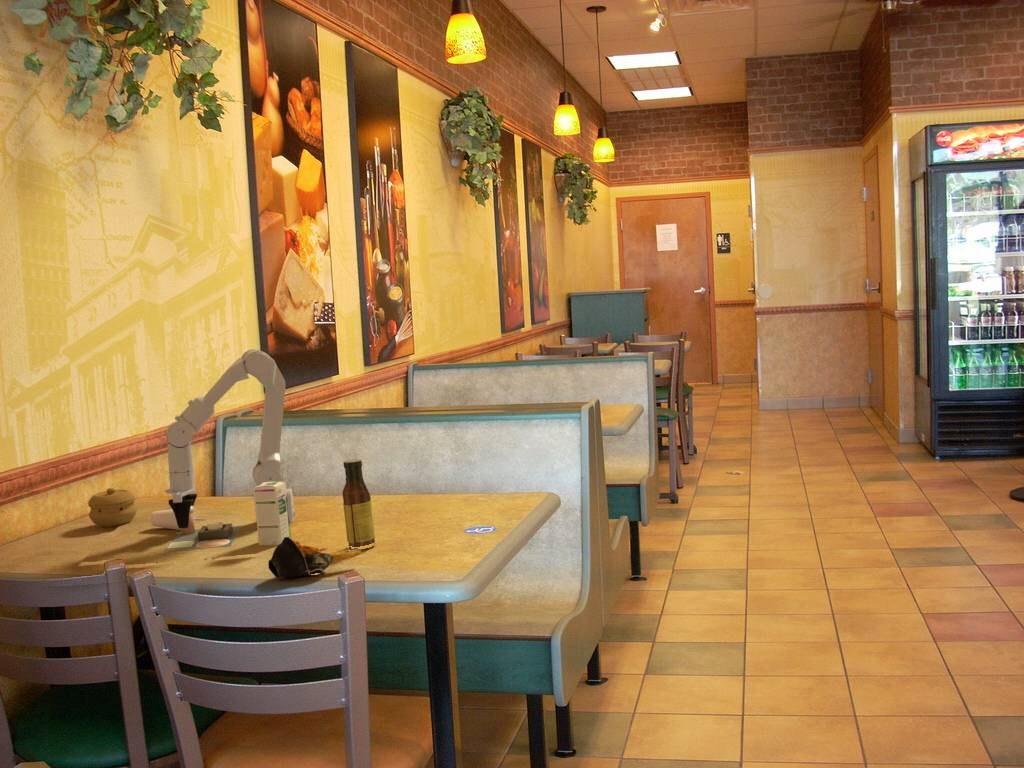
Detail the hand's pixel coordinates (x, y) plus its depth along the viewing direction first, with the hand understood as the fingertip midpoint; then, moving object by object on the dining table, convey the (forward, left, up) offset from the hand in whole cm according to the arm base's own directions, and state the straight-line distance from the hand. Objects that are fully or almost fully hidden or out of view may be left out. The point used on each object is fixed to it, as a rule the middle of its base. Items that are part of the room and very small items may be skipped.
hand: (184, 526), depth 260 cm
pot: (+22, -20, -3) cm, 30 cm away
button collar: (-8, +6, -3) cm, 10 cm away
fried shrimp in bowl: (-34, +45, -3) cm, 56 cm away
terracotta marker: (-1, 0, -2) cm, 2 cm away
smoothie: (+9, -9, +1) cm, 13 cm away
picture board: (-6, +7, -3) cm, 9 cm away
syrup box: (-23, +17, -3) cm, 29 cm away
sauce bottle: (-43, +26, -3) cm, 50 cm away
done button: (-8, +6, -1) cm, 10 cm away
